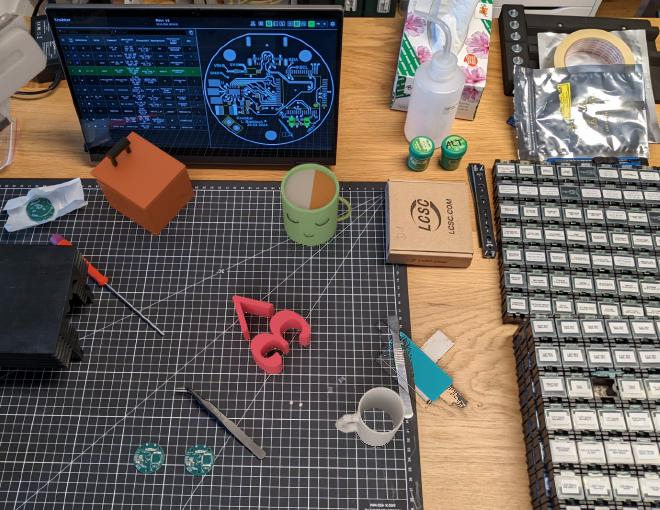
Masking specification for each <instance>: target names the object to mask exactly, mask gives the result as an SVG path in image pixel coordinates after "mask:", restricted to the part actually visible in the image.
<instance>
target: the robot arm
mask: <svg viewBox="0 0 660 510" xmlns="http://www.w3.org/2000/svg"><path fill="white" fill-rule="evenodd" d="M47 63H48V59H47V55H46V53H44V51H43V50H42V48H41V46H40V44H38V43H37V41H36V40H35V39H34V37H33V36H32V35H31V34H30V27H29V25H28V22H27V20H26V19H25V17H24V16H23V15H22V14H21V13H20V12H19V13H18V12H11V13H10V12H5V13H3V14H2V15H1V16H0V133H2V132H3V131H4V130H5V129H6V128H8V127H9V126H11V124H13V123H14V120H13V118H12V117H11V115H10V114H11V103H12V102H11V100H10V98H11V97H12V96H14V94H16V93H17V92H18V91H20V90H21V89H22V88H23V87H24V86H25V85H27V84H28V83H29V82H31V81H32V80H33V79H34V78H36V77H37V75H39V74H40V73H41V72H43V71H44V70H45V69H46V67H47Z"/></svg>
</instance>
